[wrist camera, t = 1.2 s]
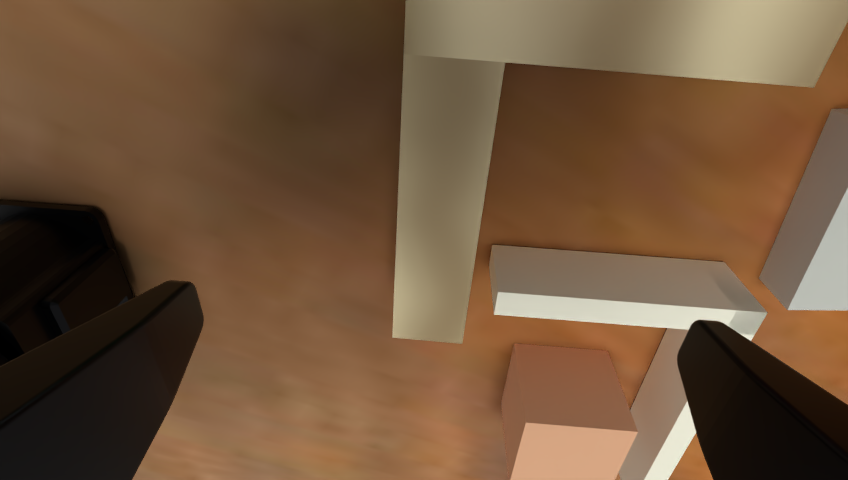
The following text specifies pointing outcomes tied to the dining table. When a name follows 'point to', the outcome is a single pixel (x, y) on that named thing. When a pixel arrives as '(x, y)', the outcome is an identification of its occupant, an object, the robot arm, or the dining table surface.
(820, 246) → the stick
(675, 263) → the white l-shaped bracket
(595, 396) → the block
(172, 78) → the dining table surface
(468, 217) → the hook
